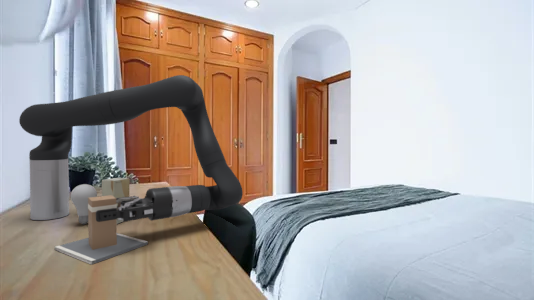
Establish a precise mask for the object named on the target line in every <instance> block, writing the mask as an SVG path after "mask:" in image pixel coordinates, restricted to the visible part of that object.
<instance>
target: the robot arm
mask: <svg viewBox="0 0 534 300" xmlns="http://www.w3.org/2000/svg"><path fill="white" fill-rule="evenodd" d="M165 108H177V109H179V110H180V111H181V112H182V114H183V115H184V117H185V119H186V121H187V124H188V125H189V129H190V131H191V135H192V136H191V137H192V141H193V146H194V151H195V154H196V156H197V159H198V162H199V164H200V167H201V170H202V172H203V174H204V175H205V177H207V178H209V179H212V180H213V181H214V183H215V184H216V185H210V186H209V185H207V186H206V185H204V184H193V185H183V186H182V185H175V186H172V185H171V186H165V187H164V186H163V187H154V188H153V187H152V188H149V189H147V191H146V193H145V196H144V198H142V197H139V196H136V195H132V196H129V197H121V198H116V203H118V206H117V208H112V209H104V210H98V211H96V221H97V222H102V221H108V220H115V219H117V218H118V220H123V222H130V221H135V220H140V219H146V218H147V219H149V220H150V221H156V220H157V221H158V220H162V219H169V218H176V217H181V216H184V215H187V214H192V213H199V212H203V211H210V210H212V211H213V210H221V209H225V208H229V207H232V206H235V205H237V204H239V203H240V202H241V200H242V199H243V194H244V193H243V192H244V191H243V187H242V185H241V182H240V181H239V179H238V177H237V176H236V175H235V173H234V171H233V170H232V169H231V168H230V167H229V165H228V164H227V161H226V158H225V156H224V153H223V151H222V148H221V146H220V144H219V141H218V139H217V137H216V134H215V132H214V130H213V127H212V123H211V122H210V117H209V114H208V110H207V106H206V102H205V96H204V93H203V90H202V87H200V85H199V84H198V83H197V82H196V81H195V80H194V79H193V78H192V77H190V76H188V75H184V74H183V75H182V74H181V75H180V74H178V75H173V76H170V77H168V78H163V79H160V80H158V81H154V82H151V83H148V84H144V85H137V86H132V87H127V88H121V89H114V90H110V91H109V90H108V91H105V92H100V93H96V94H92V95H88V96H87V95H86V96H83V97H79V98H74V99H72V100H66V101H58V102H51V103H50V102H49V103H38V104H32V105H29V106H28V107H26V108H25V109H24V110H23V111H22V112H21V114H20V116H19V121H18V122H19V125H20V127H21V128H22V130H24V131H25V132H26V133H28V134H30V135H32V136H36V137H41V141H40V143H39V145H38V146H36V147H34V148H32V149H31V150H29V157H28V158H29V194H30V195H29V198H30V205H29V206H30V213H29V214H30V219H31V220H33V221H46V220H54V219H55V220H56V219H60V218H64V217H66V216H69V215H70V189H69V188H70V187H69V185H70V184H69V182H70V181H69V179H70V178H69V175H70V173H69V171H70V170H69V154H70V152H71V149H72V143H73V142H72V137H73V127H88V126H89V127H90V126H91V127H92V126H93V127H94V126H107V125H115V124H119V123H125V122H128V121H131V120H134V119H136V118H138V117H140V116H141V115H143V114H145V113H147V112H149V111H152V110H158V109H165Z"/></svg>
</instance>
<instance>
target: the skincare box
mask: <svg viewBox="0 0 534 300" xmlns="http://www.w3.org/2000/svg"><path fill="white" fill-rule="evenodd" d="M130 180H131V179H130V178H127V177H114V178H113V177H112V178H107V179H102V180H101V196H109V195H112V196H113V197H115V198H121V197H130V185H131V184H130ZM116 204H117V206H118V203H116ZM116 220H117V224H120V223H122V222H124V221H123V220H118V218H117V219H116Z"/></svg>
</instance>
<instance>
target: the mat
mask: <svg viewBox="0 0 534 300" xmlns="http://www.w3.org/2000/svg"><path fill="white" fill-rule="evenodd" d="M147 245H149V241H147V240H144V239H140V238H137V237H133V236H129V235H125V234H124V233H123V234H122V233H118V232H117V245H113V246H108V247H103V248H98V249H94V250H92V248H91V247H90V245H89V237H85V238H81V239H77V240H75V241H72V242H71V241H70V242H67V243H65V244H60V245H56V246H54V251H57V252H60V253H62V254H65V255H67V256H69V257H72V258H74V259H77V260H79V261H82V262H84V263H86V264H89V265H94V264H96V263H99V262H103V261H105V260H108V259H111V258H114V257H117V256H119V255H122V254H125V253H128V252H131V251H133V250H136V249H139V248H141V247H145V246H147Z"/></svg>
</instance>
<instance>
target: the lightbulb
mask: <svg viewBox="0 0 534 300" xmlns="http://www.w3.org/2000/svg"><path fill="white" fill-rule="evenodd" d="M97 192H98V191H97V189H96V188H95V187H94V186H92V185H91V184H87V183H83V184H79V185H77V186H75V187H74V188H73V189H72V191H71V193H70V194H69V199H70V200H71V202H72V204H73V205H74V207H75V209H76V215H77V216H78V223H79V224H81V225H87V224H88V198H90V197H98V193H97Z"/></svg>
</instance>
